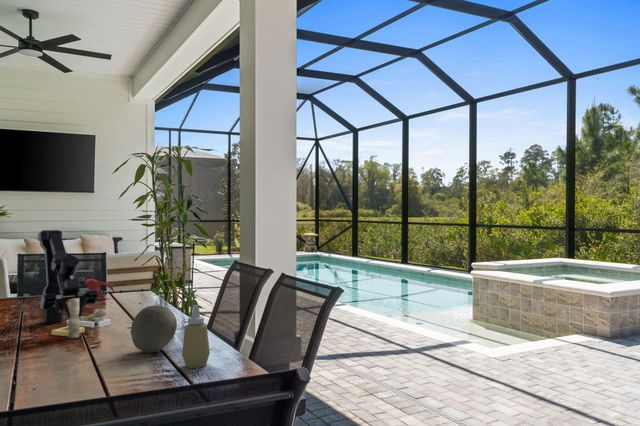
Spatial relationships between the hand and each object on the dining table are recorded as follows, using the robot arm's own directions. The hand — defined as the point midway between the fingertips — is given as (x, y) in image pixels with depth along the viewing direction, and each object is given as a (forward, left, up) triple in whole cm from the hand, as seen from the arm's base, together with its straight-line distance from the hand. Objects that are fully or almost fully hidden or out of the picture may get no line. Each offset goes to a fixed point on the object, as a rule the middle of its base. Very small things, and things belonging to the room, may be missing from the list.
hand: (74, 317), depth 188 cm
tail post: (-1, +1, -8) cm, 8 cm away
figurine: (-13, +20, -7) cm, 25 cm away
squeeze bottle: (+62, -18, -8) cm, 65 cm away
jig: (-12, +13, -8) cm, 19 cm away
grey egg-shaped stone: (+40, -8, -8) cm, 41 cm away
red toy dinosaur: (-63, +78, -8) cm, 101 cm away
